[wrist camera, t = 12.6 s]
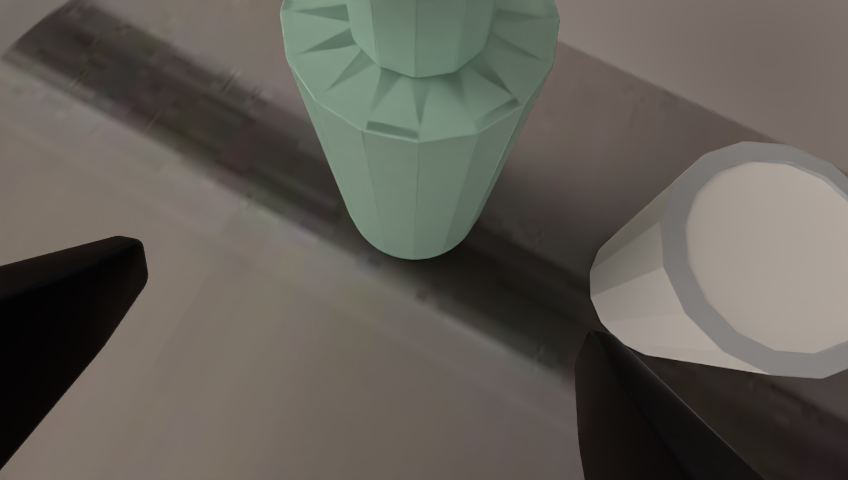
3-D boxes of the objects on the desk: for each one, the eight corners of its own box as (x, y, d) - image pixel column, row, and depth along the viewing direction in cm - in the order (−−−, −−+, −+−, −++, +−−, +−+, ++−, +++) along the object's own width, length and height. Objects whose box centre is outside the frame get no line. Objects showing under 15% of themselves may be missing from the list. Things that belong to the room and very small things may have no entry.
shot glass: (627, 182, 21) (732, 96, 14) (762, 275, 20) (944, 231, 13) (543, 303, 19) (615, 272, 13) (685, 409, 18) (846, 437, 12)
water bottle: (493, 246, 20) (696, -27, 6) (359, 271, 19) (232, 37, 5) (464, 126, 21) (573, -327, 7) (339, 146, 21) (197, -296, 7)
